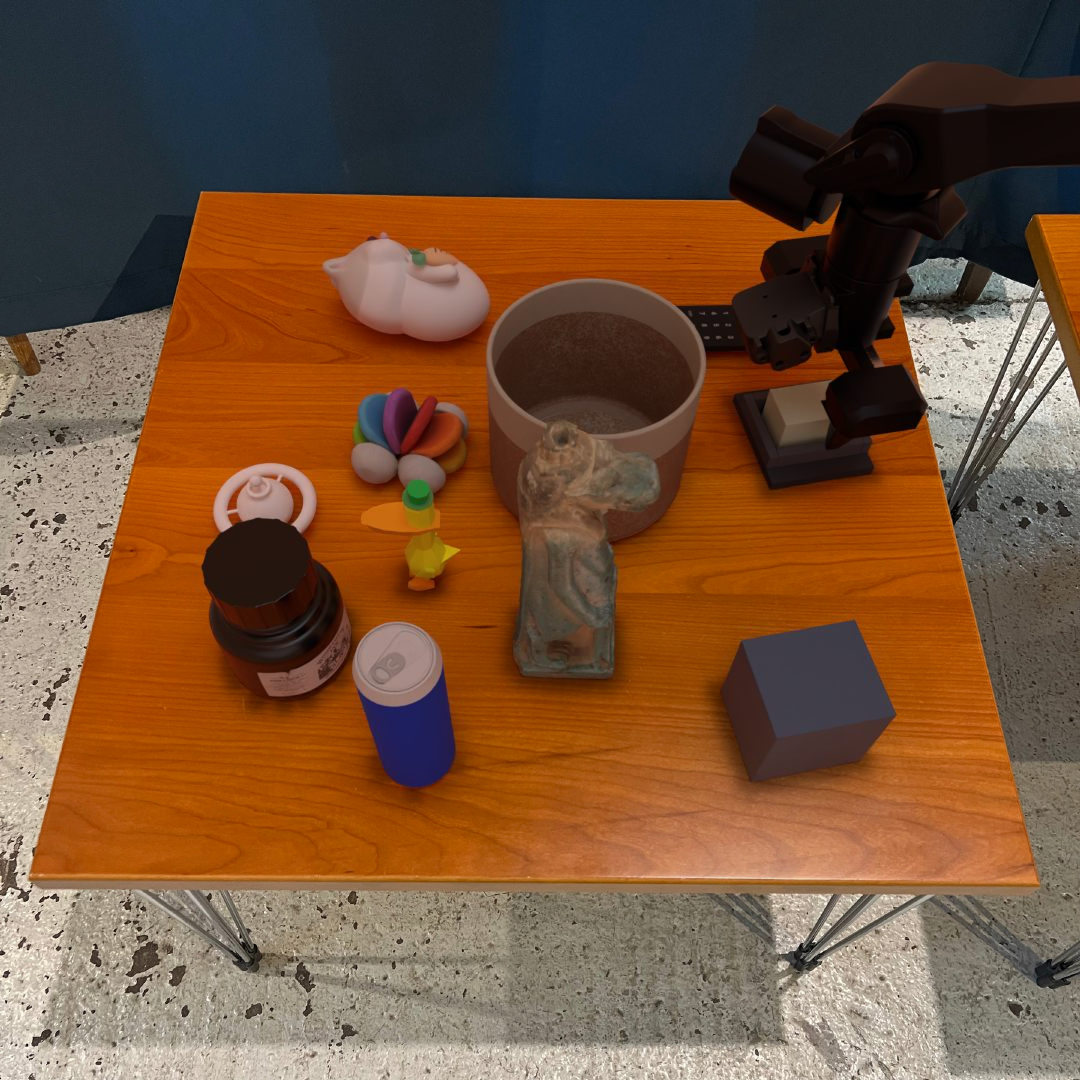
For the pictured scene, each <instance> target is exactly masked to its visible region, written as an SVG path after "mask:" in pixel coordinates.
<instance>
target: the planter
mask: <svg viewBox="0 0 1080 1080" xmlns="http://www.w3.org/2000/svg"><path fill="white" fill-rule="evenodd" d="M676 306H677V305H675V304H673V303H672V302H671V301H670V300H668V299H666V298H665V297H663V296H661V295H660V294H657V293H656V292H654V291H651V290H649V289H647V288H644V287H642V286H639V285H636V284H633V283H630V282H626V281H621V280H616V279H609V278H608V279H607V278H597V277H595V278H594V277H593V278H591V277H589V278H575V279H566V280H562V281H557V282H552V283H549V284H546V285H543V286H541V287H538V288H536V289H534V290H532V291H530V292H528V293H526V294H525V295H523V296H521V297H520V298H518V299H517V300H516V301H514V302H513V303H511V304H510V305H509V306H508V307H507V308H506V309H505V310H504V311H503V312H502V313H501V315H500V316H499V317H498V319H497V320H496V321H495V322H494V325H493V326H492V329H491V330H490V333H489V336H488V338H487V343H486V349H485V364H486V365H485V366H486V389H487V416H488V439H489V442H488V443H489V444H488V445H489V467H490V468H489V469H490V475H491V480H492V485H493V487H494V489H495V491H496V493H497V495H498V497H499V499H500V500H501V502H502V503H503V505H504V506H505V507H506V508H507V510H509V512H510V513H511V514H513V516H514V517H516V518H517V520H519V508H518V499H517V477H518V473H519V466H520V464H521V461H522V459H525V457H526V455H527V453H528V451H529V450H530V448H531V447H532V446H533V445H534V444H535V443H536V442H537V441H538V440H540V439H541V436H542V434H543V433H544V431H545V430H546V429H547V422H556V421H562V420H565V421H567V422H570V423H572V424H575V425H577V429H579V430H581V431H584V432H586V433H587V434H588V435H589V436H590V437H592V438H593V439H598V440H609V441H610V442H612V443H613V446H614V449H615V450H616V451H619V452H621V453H623V454H625V453H633V452H640V453H645V454H648V455H650V456H652V459H653V461H654V462H655V463H656V464H657V467H658V470H659V475H660V487H661V491H660V495H659V498H658V499H657V500H656V501H655V502H654V503H651V504H648V506H647V508H646V510H644V511H641V512H639V513H635V512H626V511H621V510H617V509H609V510H608V512H607V513H605V514H604V517H605V519H606V522H607V526H608V530H609V536H608V538H607V540H606V541H608V542H609V543H611V542H615V541H620V540H623V539H627V538H629V537H632V536H634V535H636V534H638V533H640V532H642V531H644V530H645V529H647V528H649V527H650V526H652V525H653V524H654V523H656V522H657V521H658V520H659V519H661V517H662V516H663V515H664V514H665V513H666V512H667V511H668V509H669V508H670V507H671V505H672V504H673V502H674V501H675V499H676V496H677V494H678V492H679V489H680V486H681V481H682V477H683V474H684V469H685V464H686V459H687V455H688V451H689V448H690V443H691V439H692V434H693V430H694V425H695V421H696V417H697V412H698V408H699V404H700V399H701V395H702V390H703V388H704V387H703V386H704V383H705V377H706V373H707V356H706V352H705V349H704V345H703V342H702V340H701V337H700V335H699V333H698V331H697V330H696V328H695V326H694V325H693V324H692V322H691V321H690V320H689V319H688V317H687V316H686V315H685V314H684V313H683V312H682V311H681V310H680V309H678V308H677V307H676Z"/></svg>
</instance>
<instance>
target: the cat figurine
mask: <svg viewBox="0 0 1080 1080" xmlns="http://www.w3.org/2000/svg"><path fill="white" fill-rule="evenodd" d="M321 267H322V271H323V272H324V273H325V275H326V276H328V277H329V282H330V284H331V285H332V286H333V287H334V289H335V290H337V291H338V293H339V296H340V299H341V301H342V303H343V305H344V307H345V309H346V310H347V311H348V312H349V314H350V315H351V316H352V317H354V319H355V320H357V321H358V322H360V323H361V324H363V325H365V326H366V327H368V328H369V329H370V328H371V329H372V330H375V331H377V332H379V333H384V334H387V335H402V334H405V335H407V336H409V337H412V338H414V339H418V340H421V341H425V342H426V341H427V342H439V343H440V342H448V341H454V340H457V339H460V338H462V337H465V336H467V335H469V334H471V333H473V332H474V331H475V330H477V329H478V328H479V327H480V326H481V325H482V324H483V323H484V322H485V321H486V319H487V317H488V315H489V313H490V310H491V299H490V294H489V290H488V288H487V287H486V285H485V283H484V282H483V280H482V279H481V278H480V277H479V276H478V274H477V273H476V272H475V271H473V269H471V268H470V267H469V266H467V265H466V264H465V263H464V262H462V261H460V260H458V259H457V258H456V257H455V256H454V255H452V254H451V253H449V252H447V251H444V250H442V249H441V248H438V247H434V246H433V247H427V248H425V249H424V250H419V249H418V248H415V249H414V248H413V247H410V246H409V248H407V247H406V246H405V245H403V244H401V243H400V242H398V241H396V240H393V239H391V238H390V237H389V234H388V233H387V232H385V231H382V232H380V234H379V238H378V237H377V236H374V235H369V236H368V237H367V239H366V241H363V242H362V243H360V244H359V245H358V246H355V248H354V249H352V250H351V251H350V252H349V253H347V254H346V255H343V256H340V257H333V258H330V259H327V260H325V261H324V262H323V263H322V265H321Z"/></svg>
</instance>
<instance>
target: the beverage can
mask: <svg viewBox="0 0 1080 1080" xmlns="http://www.w3.org/2000/svg"><path fill="white" fill-rule="evenodd" d="M351 673H352V679H353V682H354V685H355V688H356V691H357V694H358V697H359V700H360V703H361V706H362V709H363V711H364V715H365V718H366V722H367V724H368V727H369V729H370V733H371V735H372V739H373V742H374V745H375V747H376V751H377V754H378V756H379V760H380V763H381V766H382V768H383V770H384V772H385V773H386V775H387V776H388V777H389V778H390V779H391V780H392V781H394V782H395V783H397V784H399V785H401V786H404V787H407V788H424V787H428V786H431V785H433V784H435V783H437V782H439V781H440V780H441V779H442V778H444V777H445V776H446V774H447V773H448V772H449V771H450V769H451V767H452V766H453V764H454V761H455V758H456V741H455V740H456V739H455V733H454V727H453V720H452V714H451V707H450V700H449V695H448V687H447V681H446V674H445V668H444V661H443V655H442V652H441V648H440V647H439V644H438V643H437V642H436V640H435V639H434V638H433V637H432V636H431V635H430V634H429V633H428V632H427V631H425V630H424V629H423V628H422V627H420V626H418V625H416V624H413V623H410V622H406V621H390V622H385V623H381V624H380V625H377V626H375V627H373V628H372V629H370V631H368V632H367V633H366V634H365V635H364V636H363V637H362V638H361V640H360V641H359V643H358V645H357V647H356V650H355V653H354V656H353V659H352V663H351Z"/></svg>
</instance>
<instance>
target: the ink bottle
mask: <svg viewBox="0 0 1080 1080" xmlns="http://www.w3.org/2000/svg"><path fill="white" fill-rule="evenodd" d="M232 525H233V526H232V527H230V528H228V529H227V530H225V531H223V532H219V533H218V535H216V537H215V539H214V540H213V541H212V542H211V544H209V546H208V547H207V548H206V549H205V554H204V558H203V562H202V563H201V571H202V577H203V584H204V586H205V588H206V590H207V591H208V593H209V596H210V597H211V600H210V603H209V609H208V621H209V627H210V630H211V633H212V635H213V638H214V640H215V641H216V643H217V645H218V647H219V649H220V651H221V652H222V654H223V656H224V658H225V659H226V661H227V663H228V664H229V666H230V668H231V671H232V672H233V673H234V675H235V677H236V678H237V680H238V681H239V682H240V683H241V684H242V685H243V686H244V687H245V688H247V689H248V690H249V691H251V692H252V693H255V694H256V695H258V696H260V697H262V698H263V697H264V698H266V699H270V700H275V701H295V700H301V699H304V698H306V697H310V696H312V695H314V694H315V693H317V692H319V691H320V690H322V689H323V688H325V687H326V686H327V685H329V684H330V683H331V682H332V681H333V680H334V679H335V678H336V677H337V676H338V675H339V674H340V672H341V671H342V669H343V668H344V667H345V665H346V663H347V661H348V659H349V657H350V654H351V651H352V645H353V631H352V626H351V622H350V619H349V616H348V612H347V609H346V606H345V602H344V600H343V599H344V598H343V596H342V593H341V590H340V588H339V587H340V586H339V584H338V582H337V580H336V578H335V577H334V575H333V574H332V573H331V571H329V569H328V568H327V567H326V566H325V565H324V564H322V563H321V562H320V561H319V560H317V559H315V558H314V557H313V555H312V551H311V548H310V546H309V543H308V540H307V538H306V537H304V536H303V534H301V533H300V532H299V531H298V530H297V528H296V527H295V526H293V525H292V524H290V523H285V522H283V521H281V520H280V519H269V518H260V517H258V518H254V519H251V520H247V521H243V522H242V521H238V522H235V523H234V524H232Z"/></svg>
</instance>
